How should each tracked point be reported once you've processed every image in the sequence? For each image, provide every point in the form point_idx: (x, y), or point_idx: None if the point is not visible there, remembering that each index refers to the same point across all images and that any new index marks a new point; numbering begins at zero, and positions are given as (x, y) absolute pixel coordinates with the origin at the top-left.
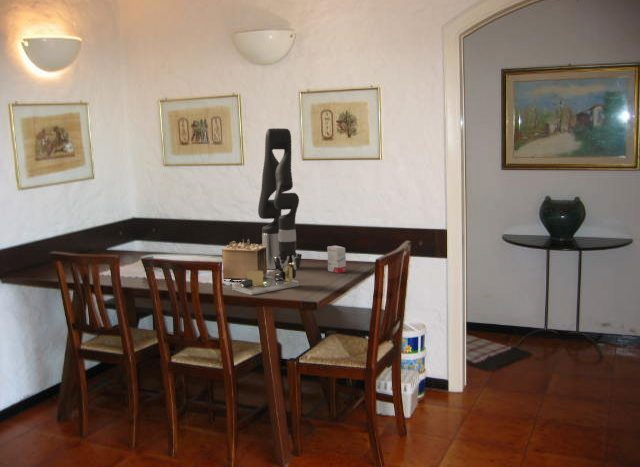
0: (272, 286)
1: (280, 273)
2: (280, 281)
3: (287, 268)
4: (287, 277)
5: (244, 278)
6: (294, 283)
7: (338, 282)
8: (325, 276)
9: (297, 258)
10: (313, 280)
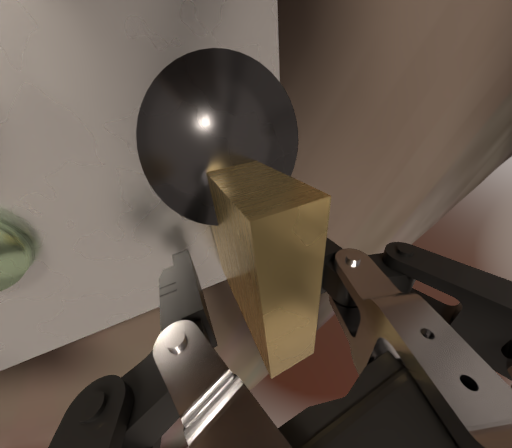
0: (30, 357)
1: (161, 315)
2: (170, 217)
3: (263, 352)
4: (227, 273)
5: None
6: None
7: (395, 240)
8: (470, 102)
9: (507, 364)
10: (389, 155)
